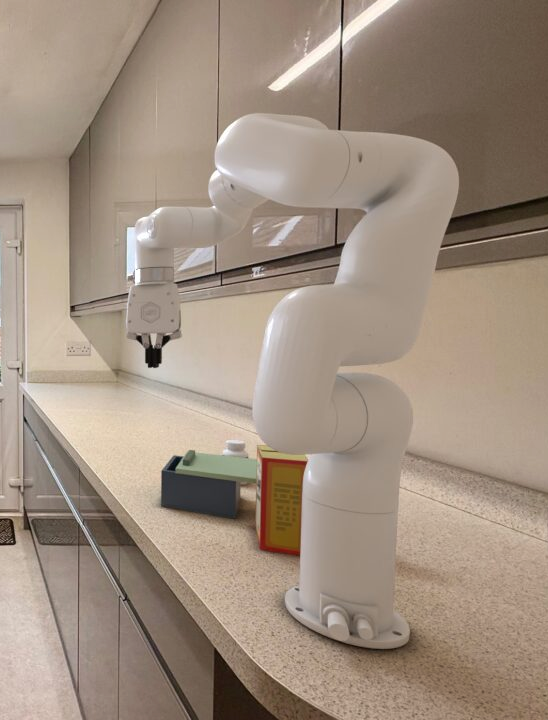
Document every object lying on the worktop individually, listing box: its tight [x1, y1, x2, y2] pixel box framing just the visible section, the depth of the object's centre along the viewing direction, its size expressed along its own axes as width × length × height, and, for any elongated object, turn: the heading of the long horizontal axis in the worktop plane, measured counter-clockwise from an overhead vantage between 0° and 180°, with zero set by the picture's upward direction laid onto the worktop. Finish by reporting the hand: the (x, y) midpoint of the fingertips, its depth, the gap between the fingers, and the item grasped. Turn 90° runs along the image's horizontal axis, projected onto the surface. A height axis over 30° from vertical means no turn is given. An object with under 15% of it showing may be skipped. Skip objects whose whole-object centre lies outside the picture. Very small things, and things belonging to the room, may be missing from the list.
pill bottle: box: [222, 439, 249, 486], centre depth 117 cm, size 5×5×10 cm
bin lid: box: [176, 449, 257, 485], centre depth 103 cm, size 15×15×2 cm
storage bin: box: [160, 454, 242, 520], centre depth 105 cm, size 14×14×8 cm
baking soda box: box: [254, 444, 309, 557], centre depth 85 cm, size 10×6×16 cm
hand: (153, 367), depth 103 cm, fingers closed
